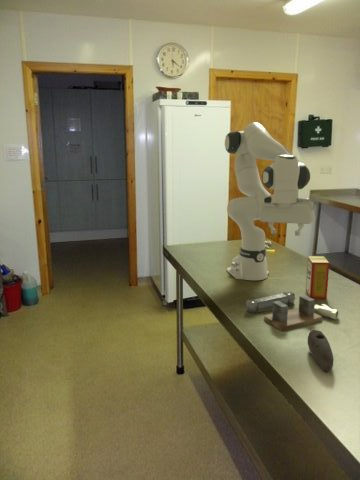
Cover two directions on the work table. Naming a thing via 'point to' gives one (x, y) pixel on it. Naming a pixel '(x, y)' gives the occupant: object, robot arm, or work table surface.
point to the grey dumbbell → (268, 302)
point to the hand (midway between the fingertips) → (285, 234)
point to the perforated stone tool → (320, 350)
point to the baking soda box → (317, 277)
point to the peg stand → (293, 314)
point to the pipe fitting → (326, 311)
